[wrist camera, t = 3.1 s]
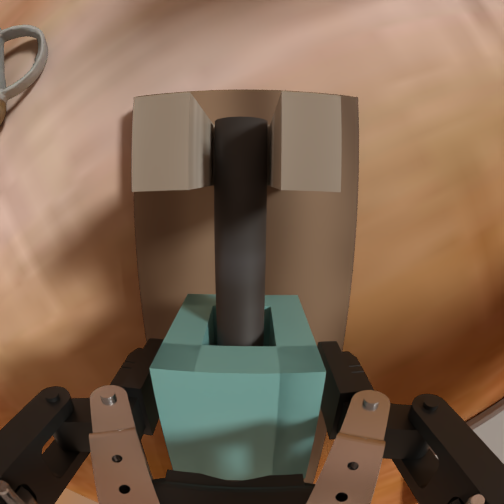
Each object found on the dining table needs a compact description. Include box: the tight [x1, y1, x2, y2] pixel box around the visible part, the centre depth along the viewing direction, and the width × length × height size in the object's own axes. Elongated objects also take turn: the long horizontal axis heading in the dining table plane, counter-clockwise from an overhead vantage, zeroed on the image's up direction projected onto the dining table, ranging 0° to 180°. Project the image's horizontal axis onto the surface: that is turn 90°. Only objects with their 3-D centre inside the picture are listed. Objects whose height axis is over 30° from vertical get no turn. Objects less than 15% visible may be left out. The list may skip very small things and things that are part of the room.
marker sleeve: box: [149, 294, 326, 480], centre depth 11 cm, size 5×5×6 cm
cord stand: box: [132, 90, 359, 484], centre depth 15 cm, size 12×40×12 cm, turn 179°
